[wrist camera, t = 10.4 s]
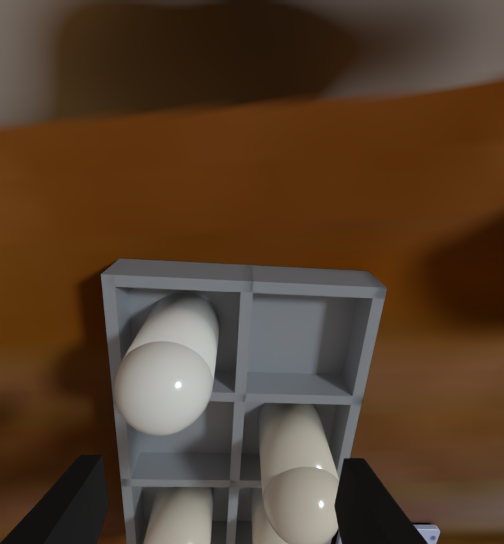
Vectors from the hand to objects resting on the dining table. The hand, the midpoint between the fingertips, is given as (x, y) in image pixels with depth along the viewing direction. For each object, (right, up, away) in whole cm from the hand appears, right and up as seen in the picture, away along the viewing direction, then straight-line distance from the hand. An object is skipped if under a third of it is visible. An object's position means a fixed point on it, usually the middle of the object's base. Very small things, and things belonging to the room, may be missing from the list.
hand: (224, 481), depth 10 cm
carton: (0, -3, +11) cm, 12 cm away
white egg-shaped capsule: (-3, +3, +8) cm, 10 cm away
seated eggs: (0, -6, +12) cm, 14 cm away
